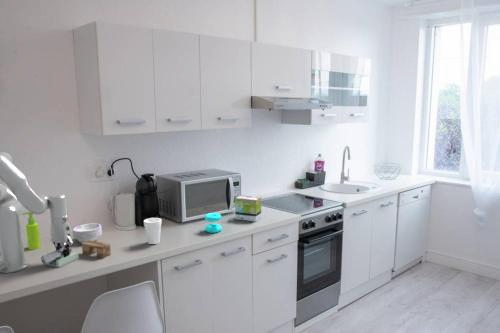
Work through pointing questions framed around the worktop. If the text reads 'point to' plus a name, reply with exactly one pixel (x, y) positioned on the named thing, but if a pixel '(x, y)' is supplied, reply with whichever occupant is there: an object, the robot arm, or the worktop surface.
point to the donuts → (213, 218)
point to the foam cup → (153, 230)
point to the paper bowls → (87, 232)
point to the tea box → (248, 208)
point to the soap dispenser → (32, 232)
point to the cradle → (64, 260)
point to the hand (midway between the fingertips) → (63, 255)
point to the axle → (53, 255)
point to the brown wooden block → (96, 248)
